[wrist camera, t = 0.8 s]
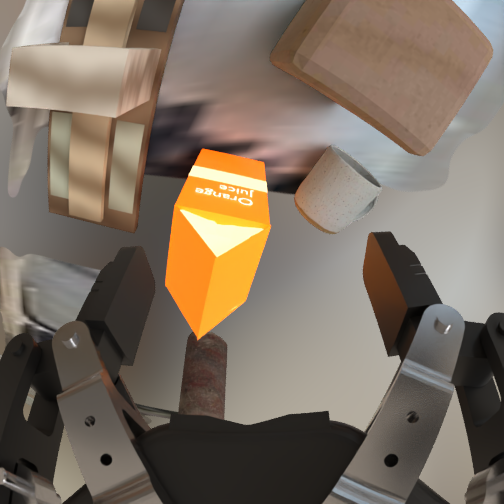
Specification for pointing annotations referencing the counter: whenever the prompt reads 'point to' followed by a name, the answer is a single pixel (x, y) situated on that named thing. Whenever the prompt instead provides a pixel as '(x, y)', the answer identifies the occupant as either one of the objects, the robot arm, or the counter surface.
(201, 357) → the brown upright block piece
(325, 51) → the wooden block
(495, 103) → the counter surface
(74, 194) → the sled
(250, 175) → the orange juice
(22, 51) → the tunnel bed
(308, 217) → the ceramic mug
